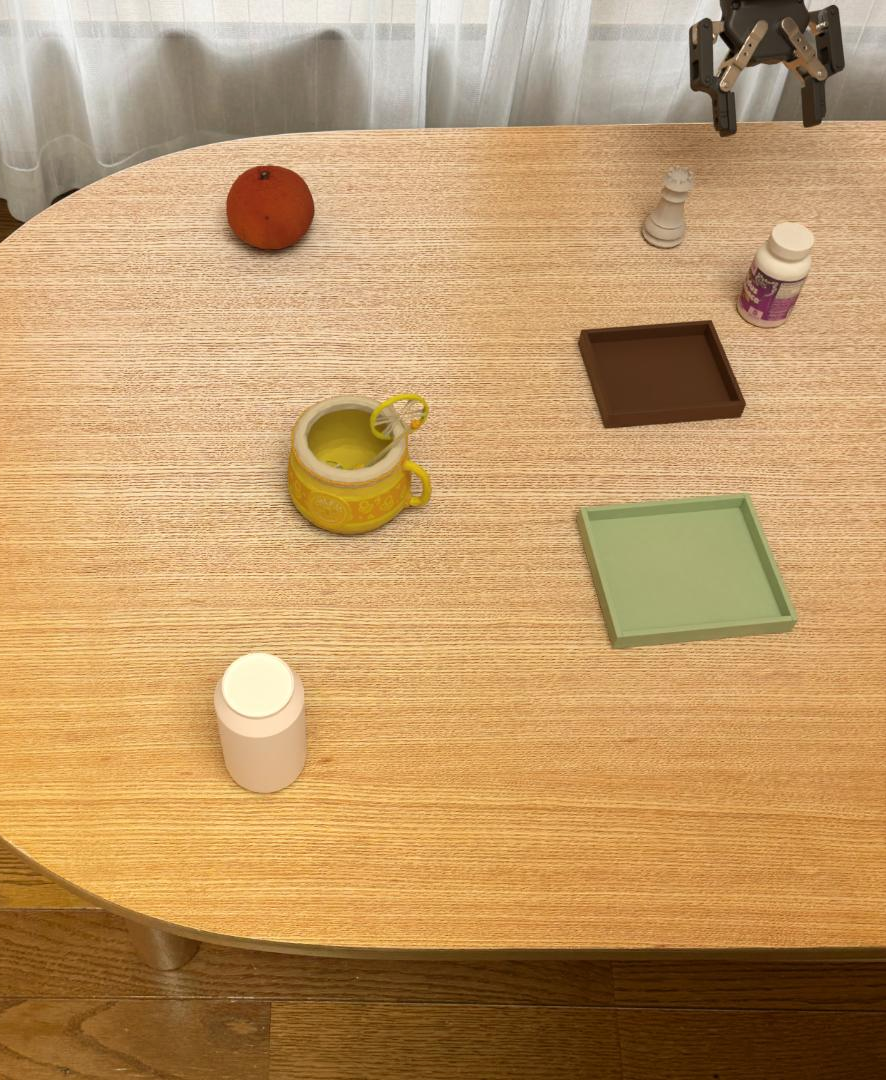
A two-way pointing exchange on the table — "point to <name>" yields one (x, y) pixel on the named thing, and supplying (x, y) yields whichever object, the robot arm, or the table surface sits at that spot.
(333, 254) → the table surface
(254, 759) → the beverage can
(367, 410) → the mug
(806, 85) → the robot arm
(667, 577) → the green tray
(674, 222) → the rook chess piece
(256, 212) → the fruit
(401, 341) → the table surface
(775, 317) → the pill bottle
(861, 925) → the table surface
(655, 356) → the walnut tray
